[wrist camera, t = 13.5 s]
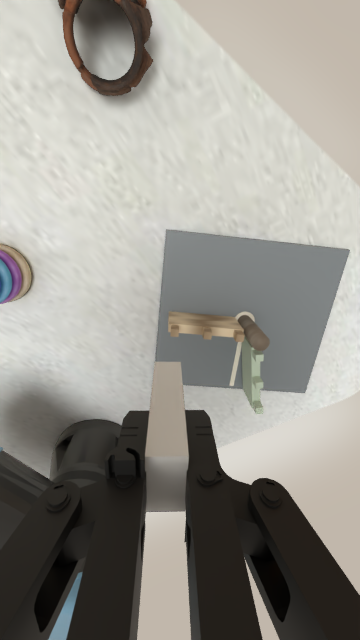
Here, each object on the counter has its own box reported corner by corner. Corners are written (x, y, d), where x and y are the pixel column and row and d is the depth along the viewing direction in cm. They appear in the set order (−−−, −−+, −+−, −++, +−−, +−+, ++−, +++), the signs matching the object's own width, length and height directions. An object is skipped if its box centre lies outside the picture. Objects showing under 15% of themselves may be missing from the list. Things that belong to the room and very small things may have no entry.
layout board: (303, 391, 45) (305, 393, 45) (153, 381, 44) (153, 383, 43) (347, 249, 37) (350, 249, 37) (166, 229, 36) (166, 229, 35)
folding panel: (241, 332, 40) (255, 353, 34) (249, 331, 40) (264, 352, 34) (242, 387, 44) (255, 415, 37) (249, 387, 44) (263, 414, 37)
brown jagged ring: (173, 18, 29) (170, 21, 23) (132, 106, 35) (123, 125, 29) (62, -103, 23) (26, -134, 18) (36, 26, 29) (4, 31, 24)
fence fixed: (252, 315, 40) (271, 335, 32) (249, 328, 40) (267, 351, 33) (169, 308, 39) (169, 327, 32) (167, 321, 40) (167, 343, 32)
